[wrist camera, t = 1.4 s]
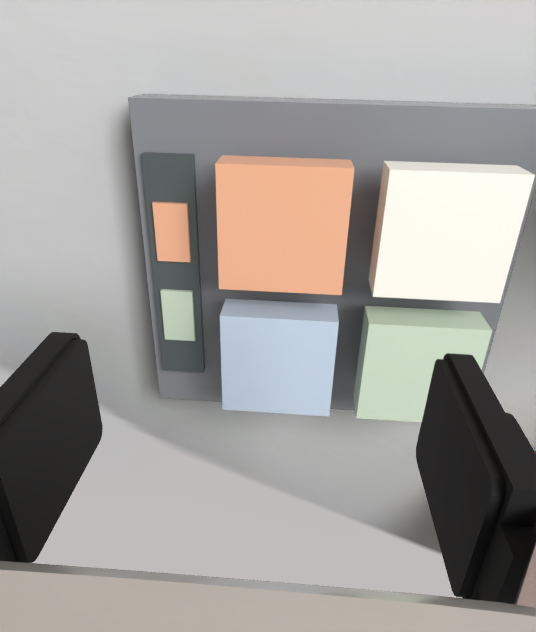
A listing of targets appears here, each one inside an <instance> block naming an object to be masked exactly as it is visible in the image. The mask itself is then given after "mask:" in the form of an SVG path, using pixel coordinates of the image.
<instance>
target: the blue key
mask: <svg viewBox="0 0 536 632" xmlns="http://www.w3.org/2000/svg"><path fill="white" fill-rule="evenodd" d="M338 326H339V319H338V310H337V304H321V303H302V302H282V301H263V300H243V299H225V302H224V305H223V308H222V311H221V314H220V341H221V375H222V408H223V410H237V411H252V412H268V413H283V414H299V415H315V416H329V414H330V404H331V395H332V385H333V375H334V365H335V355H336V345H337V336H338Z"/></svg>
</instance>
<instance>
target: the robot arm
mask: <svg viewBox="0 0 536 632" xmlns="http://www.w3.org/2000/svg"><path fill="white" fill-rule="evenodd" d="M101 436H102V422H101V416H100V411H99V405H98V400H97V394H96V389H95V383H94V377H93V372H92V366H91V361H90V355H89V350H88V345H87V342H86V341H85V340H81V339H80V337H79V335H78V334H76V333H61V332H52V333H50V334H49V335H48V336H47V337H46V338H45V340H44V341H43V342H42V343H41V344H40V345H39V346H38V347H37V348H36V349H35V350H34V351H33V353H32V354H31V355H30V356H29V357H28V358H27V359H26V360H25V361H24V362H23V363H22V364H21V365H20V367H19V368H18V369H17V370H16V371H15V372H14V373H13V374H12V375H11V376H10V377H9V378H8V380H7V381H6V382H5V383H4V384H3V385H2V386H1V387H0V632H536V454H535V452H534V450H533V448H532V447H531V445H530V443H529V441H528V440H527V438H526V436H525V434H524V433H523V431H522V429H521V428H520V426H519V424H518V422H517V421H516V419H515V418H514V417H513V415H511V414H509V413H505V412H504V410H503V408H502V406H501V404H500V403H499V401H498V399H497V397H496V395H495V394H494V392H493V390H492V388H491V386H490V385H489V383H488V381H487V379H486V378H485V376H484V374H483V372H482V370H481V369H480V367H479V365H478V363H477V361H476V360H475V358H474V357H473V355H469V354H450V353H447V354H445V356H444V357H443V359H437V360H436V361H435V364H434V369H433V373H432V378H431V382H430V387H429V392H428V396H427V401H426V405H425V410H424V415H423V419H422V424H421V428H420V433H419V437H418V442H417V447H416V459H417V464H418V468H419V471H420V475H421V478H422V482H423V486H424V489H425V493H426V497H427V500H428V504H429V508H430V511H431V515H432V519H433V522H434V526H435V530H436V533H437V537H438V541H439V544H440V548H441V552H442V555H443V559H444V563H445V566H446V570H447V574H448V577H449V581H450V584H451V588H452V591H453V593H454V595H455V596H456V597H462V598H463V599H462V598H452V597H442V596H432V595H423V594H412V593H401V592H389V591H377V590H365V589H353V588H341V587H330V586H318V585H306V584H295V583H294V584H293V583H282V582H270V581H258V580H257V581H256V580H244V579H233V578H220V577H207V576H194V575H181V574H169V573H156V572H143V571H131V570H117V569H103V568H89V567H76V566H63V565H48V564H35V563H32V562H34V561H35V560H36V559H37V557H38V556H39V554H40V552H41V550H42V548H43V546H44V544H45V543H46V541H47V539H48V537H49V535H50V533H51V531H52V530H53V528H54V526H55V524H56V522H57V520H58V518H59V517H60V515H61V513H62V511H63V509H64V507H65V505H66V503H67V502H68V500H69V498H70V496H71V494H72V492H73V490H74V489H75V486H76V485H77V483H78V481H79V479H80V477H81V476H82V474H83V472H84V470H85V468H86V466H87V464H88V462H89V461H90V459H91V457H92V455H93V453H94V451H95V449H96V448H97V445H98V444H99V442H100V440H101Z"/></svg>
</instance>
